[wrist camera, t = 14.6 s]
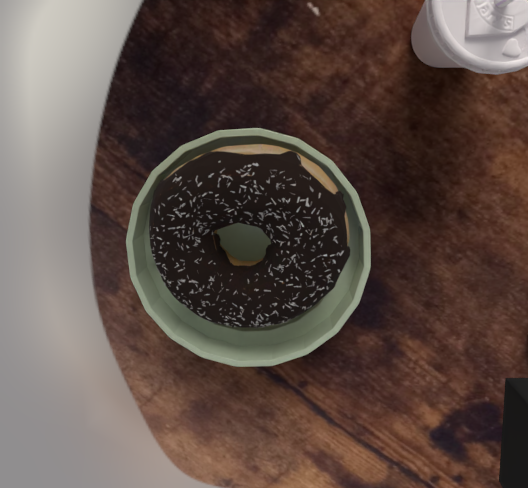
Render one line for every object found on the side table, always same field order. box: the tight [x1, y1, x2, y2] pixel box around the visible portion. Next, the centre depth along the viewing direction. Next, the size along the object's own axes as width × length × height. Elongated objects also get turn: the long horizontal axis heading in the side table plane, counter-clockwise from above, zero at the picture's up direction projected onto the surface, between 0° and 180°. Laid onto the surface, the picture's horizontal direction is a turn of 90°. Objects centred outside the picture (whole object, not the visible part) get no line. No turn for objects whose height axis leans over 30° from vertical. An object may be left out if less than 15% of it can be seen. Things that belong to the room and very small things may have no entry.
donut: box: [149, 144, 350, 329], centre depth 28 cm, size 11×12×4 cm
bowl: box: [126, 128, 371, 367], centre depth 31 cm, size 14×14×5 cm
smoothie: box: [411, 0, 528, 74], centre depth 23 cm, size 6×6×14 cm
